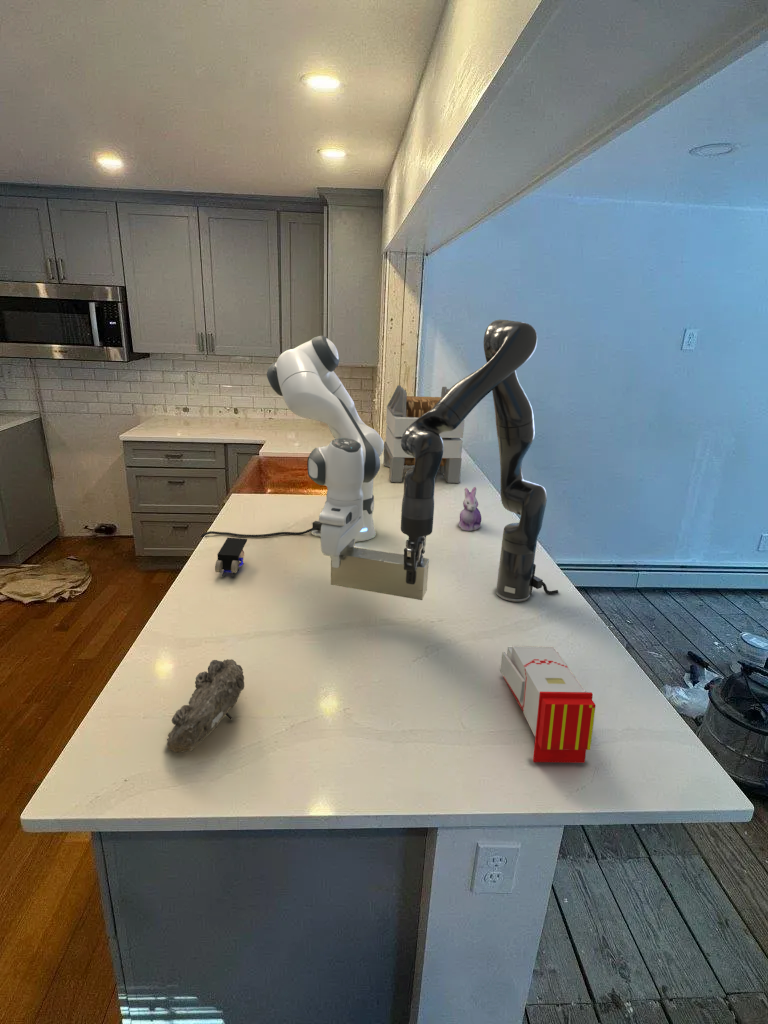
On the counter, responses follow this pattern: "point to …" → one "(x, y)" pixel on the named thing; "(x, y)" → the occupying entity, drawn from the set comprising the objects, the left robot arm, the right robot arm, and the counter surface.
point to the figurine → (470, 512)
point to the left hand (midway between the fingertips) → (343, 559)
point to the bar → (379, 573)
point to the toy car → (230, 556)
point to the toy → (550, 702)
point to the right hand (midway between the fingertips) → (413, 577)
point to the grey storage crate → (400, 418)
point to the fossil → (206, 705)
